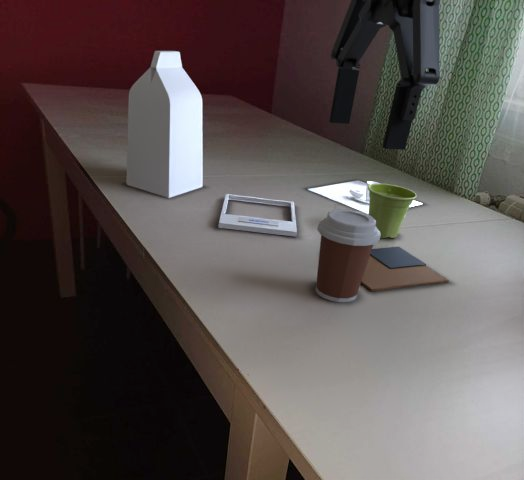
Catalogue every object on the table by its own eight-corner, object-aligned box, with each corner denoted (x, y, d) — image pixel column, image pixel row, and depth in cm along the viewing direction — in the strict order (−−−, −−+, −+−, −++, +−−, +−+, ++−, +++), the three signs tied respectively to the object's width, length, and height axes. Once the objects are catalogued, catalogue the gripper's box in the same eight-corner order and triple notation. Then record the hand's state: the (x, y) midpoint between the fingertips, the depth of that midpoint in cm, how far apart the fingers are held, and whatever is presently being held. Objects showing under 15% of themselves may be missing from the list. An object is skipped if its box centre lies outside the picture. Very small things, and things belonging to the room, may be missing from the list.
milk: (168, 197, 111) (171, 56, 97) (126, 184, 116) (123, 46, 101) (202, 186, 120) (209, 55, 106) (162, 174, 125) (163, 47, 111)
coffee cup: (376, 296, 83) (396, 222, 77) (341, 312, 77) (359, 233, 71) (331, 274, 88) (345, 202, 82) (294, 288, 82) (307, 212, 76)
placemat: (448, 282, 91) (449, 279, 91) (371, 291, 85) (372, 288, 84) (398, 249, 102) (398, 246, 101) (326, 255, 95) (326, 252, 95)
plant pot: (366, 221, 113) (375, 180, 109) (409, 232, 110) (421, 190, 106) (352, 233, 106) (362, 190, 101) (399, 246, 103) (411, 201, 98)
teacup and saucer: (343, 196, 127) (346, 179, 124) (363, 192, 132) (367, 175, 129) (372, 208, 122) (376, 190, 119) (393, 203, 127) (397, 186, 124)
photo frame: (218, 221, 99) (226, 193, 114) (218, 227, 100) (225, 198, 115) (297, 230, 100) (294, 201, 115) (296, 236, 101) (293, 206, 116)
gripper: (324, -77, 65) (297, 112, 76) (455, -95, 46) (393, 161, 57) (377, -66, 67) (343, 115, 79) (521, -79, 48) (449, 162, 60)
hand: (364, 135), depth 68 cm, fingers open, 13 cm apart
